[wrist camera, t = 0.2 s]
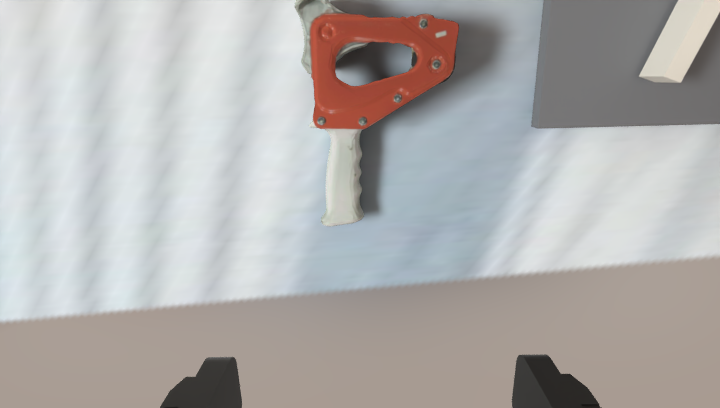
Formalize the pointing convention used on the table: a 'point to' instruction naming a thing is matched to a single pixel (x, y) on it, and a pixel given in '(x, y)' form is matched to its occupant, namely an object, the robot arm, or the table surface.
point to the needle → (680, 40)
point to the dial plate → (617, 68)
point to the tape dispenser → (364, 86)
